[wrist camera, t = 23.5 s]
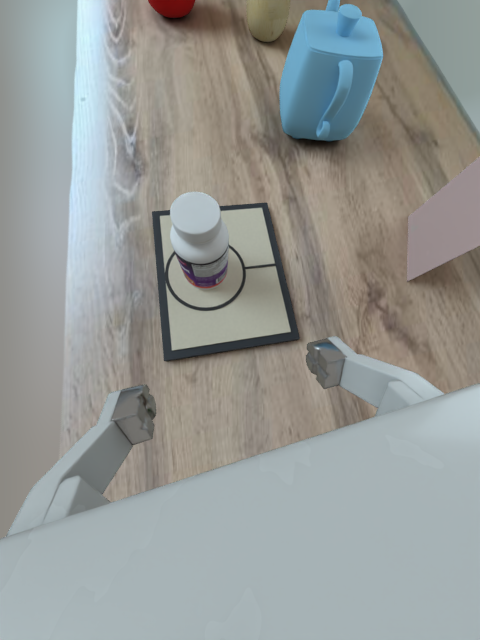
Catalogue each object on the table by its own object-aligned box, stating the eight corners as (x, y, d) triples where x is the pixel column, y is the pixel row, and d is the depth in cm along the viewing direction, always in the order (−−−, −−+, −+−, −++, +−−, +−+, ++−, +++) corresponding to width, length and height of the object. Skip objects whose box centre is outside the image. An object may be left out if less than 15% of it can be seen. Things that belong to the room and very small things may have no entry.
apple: (243, 44, 38) (238, -35, 33) (254, 50, 43) (251, -18, 38) (285, 33, 36) (287, -54, 31) (291, 40, 41) (294, -33, 36)
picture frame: (165, 361, 23) (163, 360, 22) (153, 215, 28) (151, 209, 27) (297, 339, 25) (301, 338, 24) (265, 206, 30) (267, 200, 29)
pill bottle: (179, 256, 26) (154, 189, 16) (221, 248, 26) (220, 179, 17) (189, 295, 24) (167, 247, 15) (232, 285, 25) (237, 234, 16)
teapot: (337, 86, 38) (384, -31, 27) (351, 160, 34) (414, 56, 22) (272, 79, 37) (293, -46, 26) (278, 154, 33) (305, 43, 22)
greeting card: (411, 286, 28) (607, 196, 14) (372, 249, 29) (516, 130, 15) (453, 242, 31) (654, 128, 17) (415, 209, 32) (574, 75, 18)
